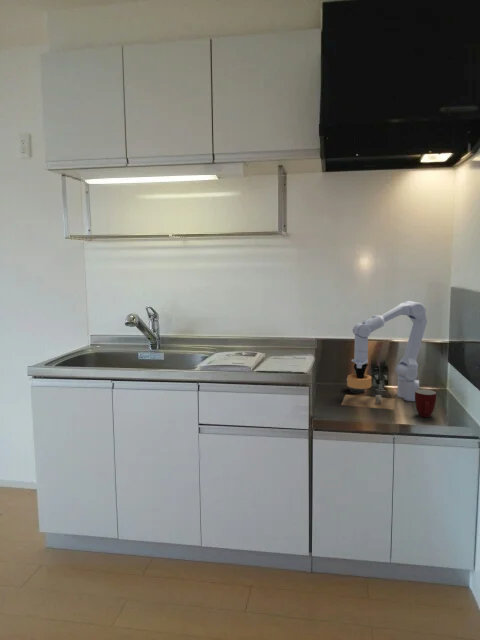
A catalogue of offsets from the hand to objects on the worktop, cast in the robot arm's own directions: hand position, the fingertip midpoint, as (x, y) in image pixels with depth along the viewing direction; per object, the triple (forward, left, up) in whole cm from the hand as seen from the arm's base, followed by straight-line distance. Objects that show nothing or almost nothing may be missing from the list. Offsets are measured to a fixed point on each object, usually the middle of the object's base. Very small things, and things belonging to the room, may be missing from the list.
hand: (360, 380), depth 224 cm
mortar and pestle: (+3, -12, -10) cm, 15 cm away
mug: (-27, +14, -10) cm, 32 cm away
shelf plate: (-4, +4, -9) cm, 11 cm away
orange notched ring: (0, +4, -1) cm, 4 cm away
